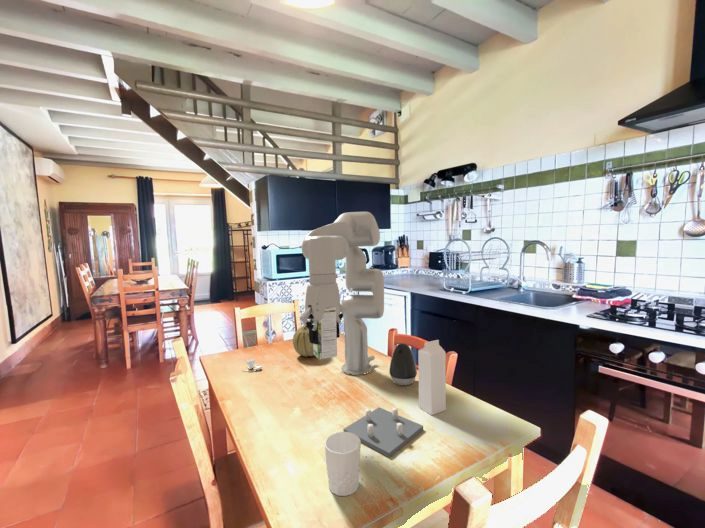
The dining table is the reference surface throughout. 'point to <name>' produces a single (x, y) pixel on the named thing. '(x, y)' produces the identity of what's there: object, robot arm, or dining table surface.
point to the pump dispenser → (403, 365)
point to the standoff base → (384, 430)
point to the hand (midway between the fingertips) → (324, 339)
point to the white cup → (343, 462)
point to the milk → (432, 378)
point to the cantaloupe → (303, 342)
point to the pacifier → (253, 364)
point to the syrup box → (326, 335)
